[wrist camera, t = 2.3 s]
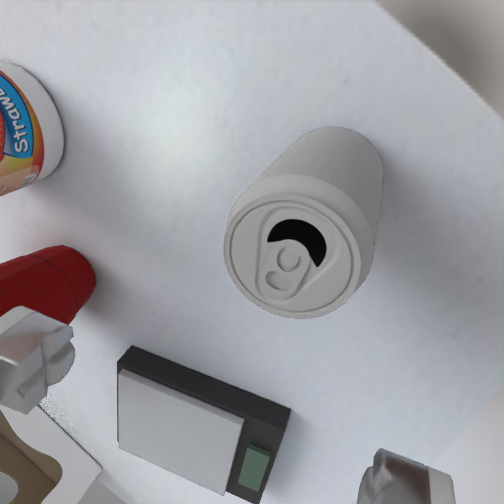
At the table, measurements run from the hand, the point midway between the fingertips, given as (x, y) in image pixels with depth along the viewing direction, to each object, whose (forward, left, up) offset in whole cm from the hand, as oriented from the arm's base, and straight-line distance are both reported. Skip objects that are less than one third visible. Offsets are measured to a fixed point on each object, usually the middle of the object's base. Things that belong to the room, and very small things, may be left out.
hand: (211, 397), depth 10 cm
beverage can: (0, 0, -19) cm, 19 cm away
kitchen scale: (+6, +29, -19) cm, 35 cm away
